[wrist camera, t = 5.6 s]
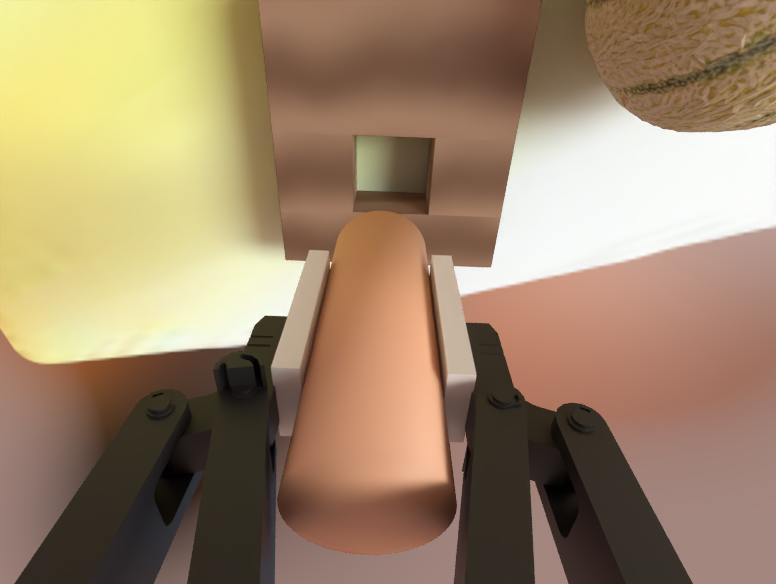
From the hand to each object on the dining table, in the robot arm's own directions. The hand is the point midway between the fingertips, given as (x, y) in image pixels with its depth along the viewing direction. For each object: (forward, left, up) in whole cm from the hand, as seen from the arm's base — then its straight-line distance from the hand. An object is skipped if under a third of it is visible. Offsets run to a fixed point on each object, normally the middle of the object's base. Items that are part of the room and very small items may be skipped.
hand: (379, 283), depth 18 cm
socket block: (-1, 0, -20) cm, 20 cm away
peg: (0, 0, -3) cm, 3 cm away
